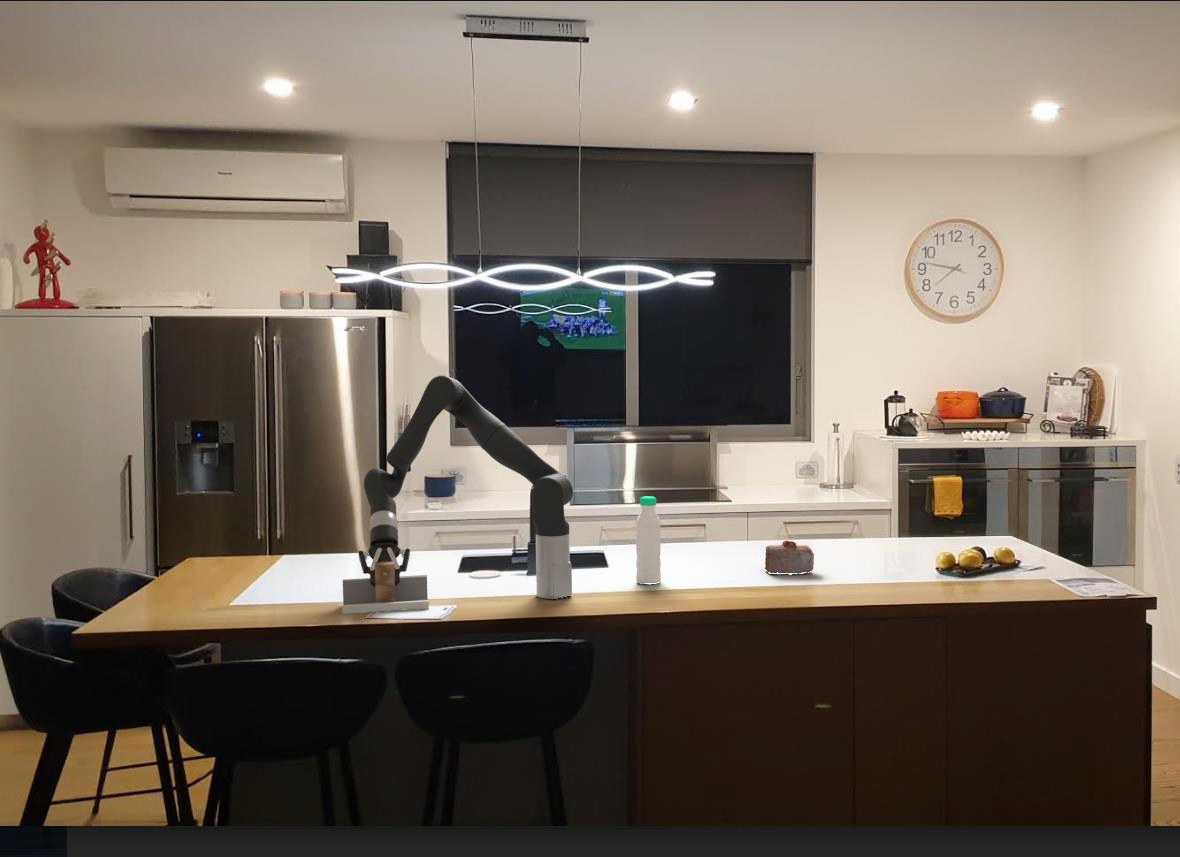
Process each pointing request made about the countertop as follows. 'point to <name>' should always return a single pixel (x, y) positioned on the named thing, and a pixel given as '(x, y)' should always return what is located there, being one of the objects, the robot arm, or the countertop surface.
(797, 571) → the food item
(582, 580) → the countertop surface
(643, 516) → the water bottle
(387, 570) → the walnut cabinet block
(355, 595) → the grey display ledge
